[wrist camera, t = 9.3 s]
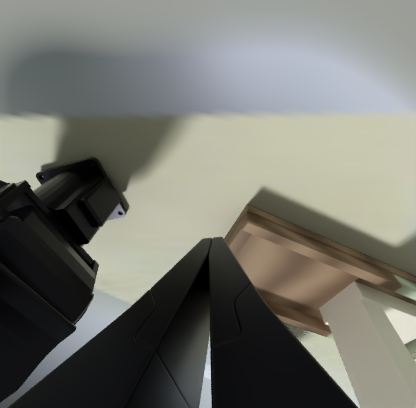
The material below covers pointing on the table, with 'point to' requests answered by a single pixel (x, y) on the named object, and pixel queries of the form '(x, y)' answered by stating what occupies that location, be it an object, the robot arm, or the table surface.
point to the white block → (374, 344)
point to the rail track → (307, 269)
